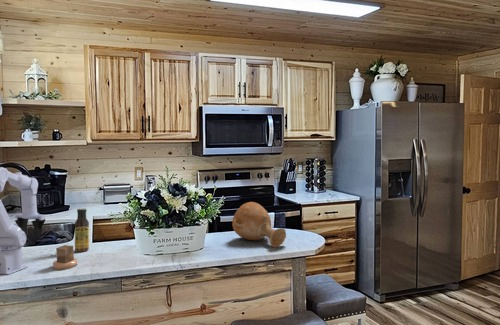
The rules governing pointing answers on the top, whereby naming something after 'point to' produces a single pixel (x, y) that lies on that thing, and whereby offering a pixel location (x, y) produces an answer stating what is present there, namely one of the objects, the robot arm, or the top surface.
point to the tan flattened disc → (64, 265)
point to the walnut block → (65, 254)
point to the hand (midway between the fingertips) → (31, 235)
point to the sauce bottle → (81, 231)
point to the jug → (256, 224)
